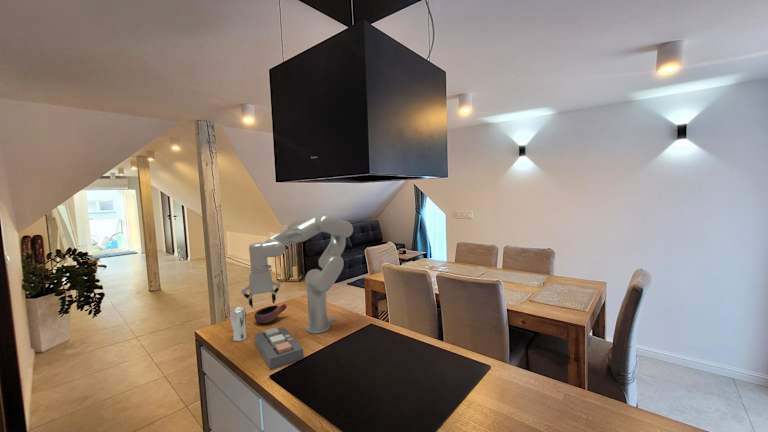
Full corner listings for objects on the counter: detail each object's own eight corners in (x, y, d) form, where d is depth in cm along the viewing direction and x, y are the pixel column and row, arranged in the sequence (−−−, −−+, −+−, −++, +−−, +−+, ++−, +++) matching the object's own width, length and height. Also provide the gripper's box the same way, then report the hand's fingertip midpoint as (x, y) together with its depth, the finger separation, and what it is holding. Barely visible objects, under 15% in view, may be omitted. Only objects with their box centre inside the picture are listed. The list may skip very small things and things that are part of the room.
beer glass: (241, 342, 154) (239, 312, 153) (229, 341, 155) (226, 311, 154) (250, 335, 161) (248, 307, 159) (238, 334, 162) (236, 306, 161)
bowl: (265, 328, 169) (264, 314, 168) (250, 323, 175) (249, 309, 175) (288, 317, 182) (288, 304, 181) (274, 313, 189) (273, 300, 188)
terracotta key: (287, 347, 141) (287, 341, 141) (291, 352, 137) (291, 346, 136) (275, 351, 138) (274, 345, 138) (278, 357, 133) (278, 350, 133)
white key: (281, 340, 149) (281, 333, 148) (285, 344, 144) (285, 338, 144) (269, 343, 145) (269, 337, 145) (273, 348, 141) (272, 342, 141)
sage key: (276, 333, 156) (276, 327, 156) (279, 337, 151) (279, 331, 151) (264, 336, 153) (264, 330, 153) (267, 340, 148) (267, 334, 148)
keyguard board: (284, 334, 160) (283, 326, 160) (303, 358, 137) (302, 348, 137) (255, 343, 153) (254, 333, 152) (270, 369, 130) (269, 358, 129)
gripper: (277, 264, 154) (280, 298, 156) (239, 270, 147) (242, 305, 148) (280, 268, 148) (283, 303, 149) (239, 274, 140) (243, 311, 142)
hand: (262, 304), depth 149 cm, fingers open, 9 cm apart
